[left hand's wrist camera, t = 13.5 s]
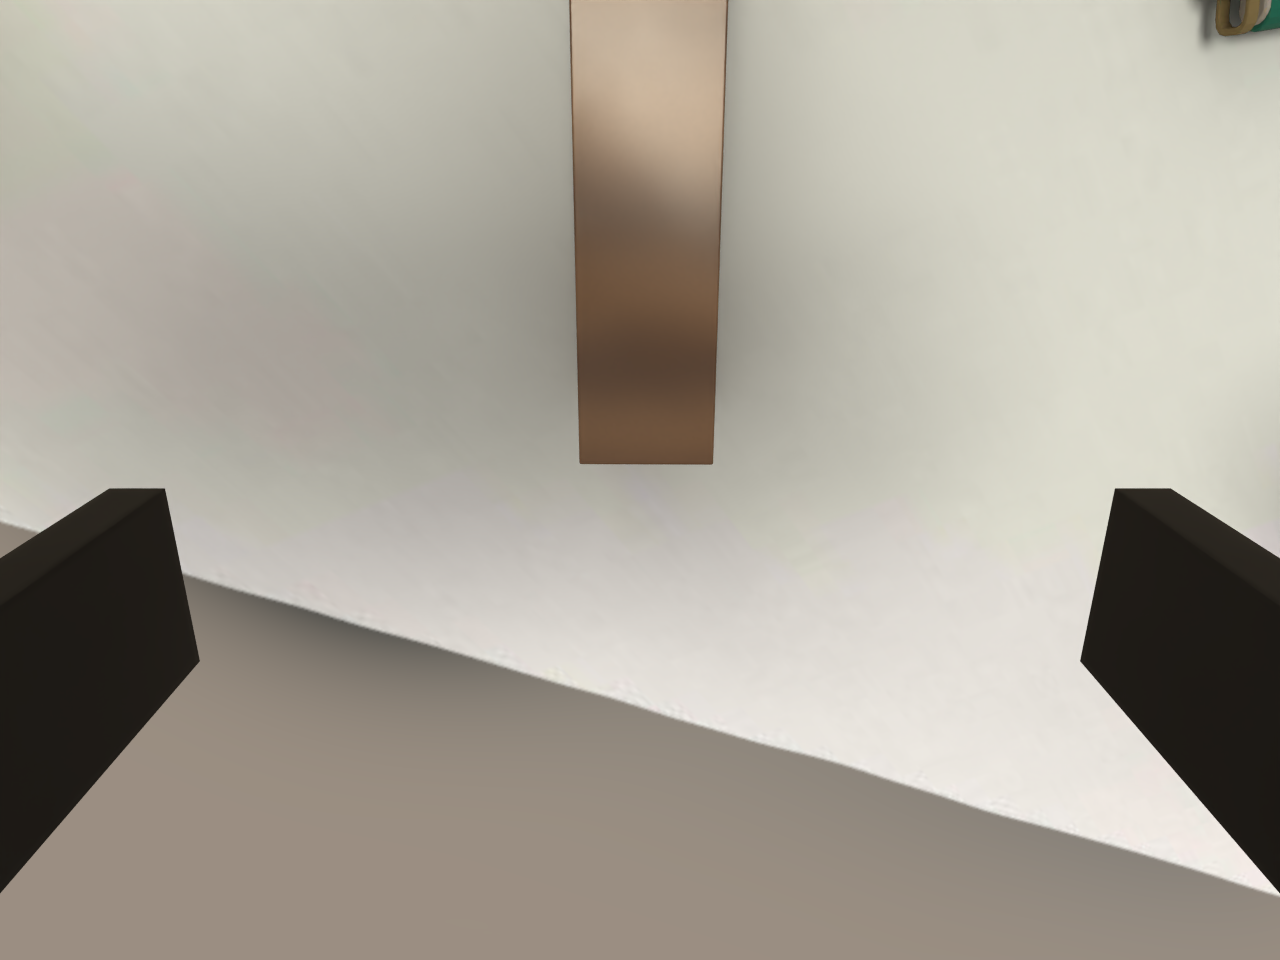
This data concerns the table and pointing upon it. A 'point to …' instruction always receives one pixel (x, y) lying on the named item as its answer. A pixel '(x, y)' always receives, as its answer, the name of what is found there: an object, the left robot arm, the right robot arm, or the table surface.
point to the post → (647, 225)
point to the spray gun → (1248, 16)
